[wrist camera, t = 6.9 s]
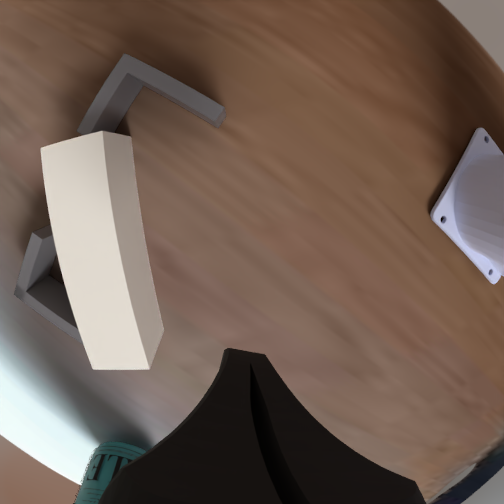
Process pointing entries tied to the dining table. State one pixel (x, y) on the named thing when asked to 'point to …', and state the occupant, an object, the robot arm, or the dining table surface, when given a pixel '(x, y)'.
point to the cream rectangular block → (103, 248)
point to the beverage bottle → (105, 469)
